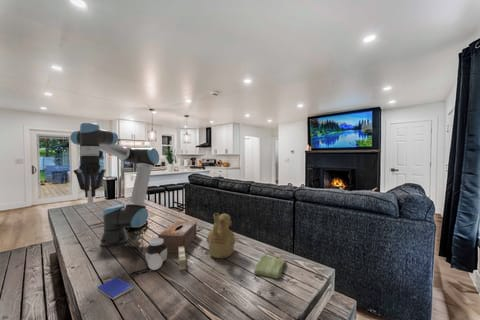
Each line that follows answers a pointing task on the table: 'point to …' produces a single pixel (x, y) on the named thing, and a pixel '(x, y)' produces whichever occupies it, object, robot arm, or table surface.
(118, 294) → the hard drive
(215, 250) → the ceramic vessel
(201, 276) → the table surface
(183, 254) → the ash stop
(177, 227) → the tissue box cover
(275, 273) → the washcloth
